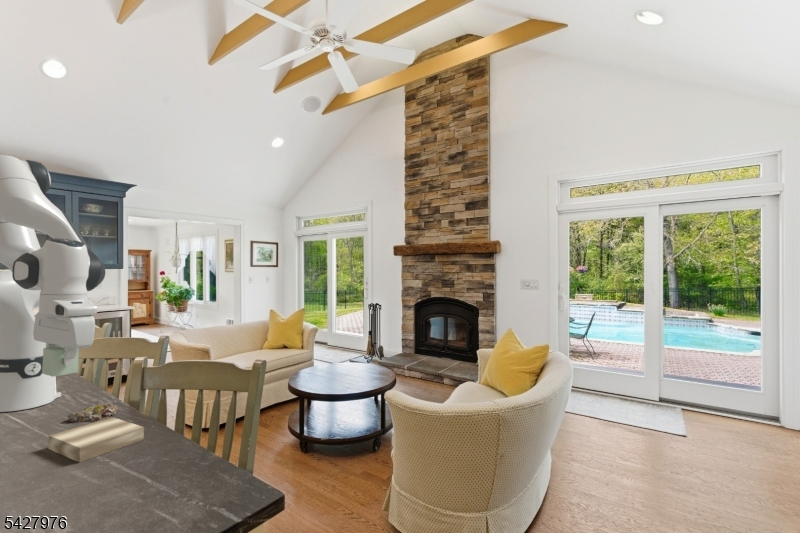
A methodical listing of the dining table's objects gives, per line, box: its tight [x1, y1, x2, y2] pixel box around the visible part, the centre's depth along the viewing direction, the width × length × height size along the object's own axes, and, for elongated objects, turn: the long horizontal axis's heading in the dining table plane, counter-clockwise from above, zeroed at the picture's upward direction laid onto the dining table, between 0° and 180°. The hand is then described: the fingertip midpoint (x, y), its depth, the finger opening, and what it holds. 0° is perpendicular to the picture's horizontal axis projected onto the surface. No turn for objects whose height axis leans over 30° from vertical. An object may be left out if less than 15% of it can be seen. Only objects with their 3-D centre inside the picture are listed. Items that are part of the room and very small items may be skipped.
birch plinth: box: [47, 416, 145, 463], centre depth 91 cm, size 13×13×3 cm
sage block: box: [42, 346, 80, 377], centre depth 95 cm, size 5×5×6 cm
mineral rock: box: [67, 403, 119, 424], centre depth 107 cm, size 11×4×8 cm
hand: (60, 363), depth 95 cm, fingers closed on sage block, 5 cm apart
